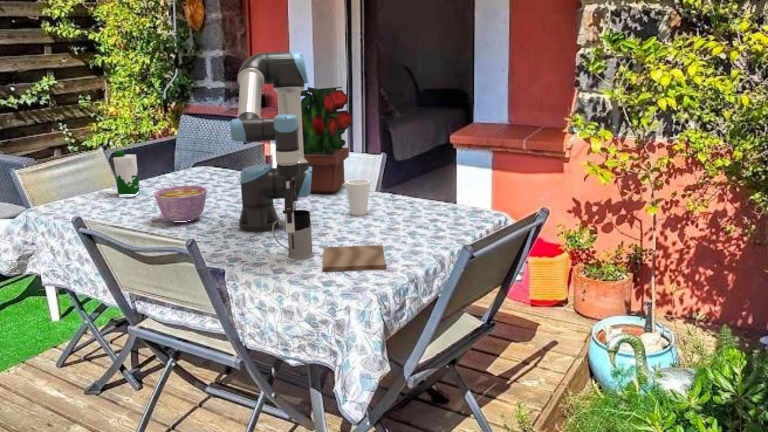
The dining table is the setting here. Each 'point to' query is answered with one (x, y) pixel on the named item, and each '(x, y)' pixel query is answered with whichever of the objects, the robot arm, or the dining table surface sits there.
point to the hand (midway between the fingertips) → (291, 226)
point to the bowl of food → (181, 202)
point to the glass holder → (299, 236)
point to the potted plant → (325, 137)
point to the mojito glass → (126, 173)
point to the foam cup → (358, 196)
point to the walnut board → (353, 258)
